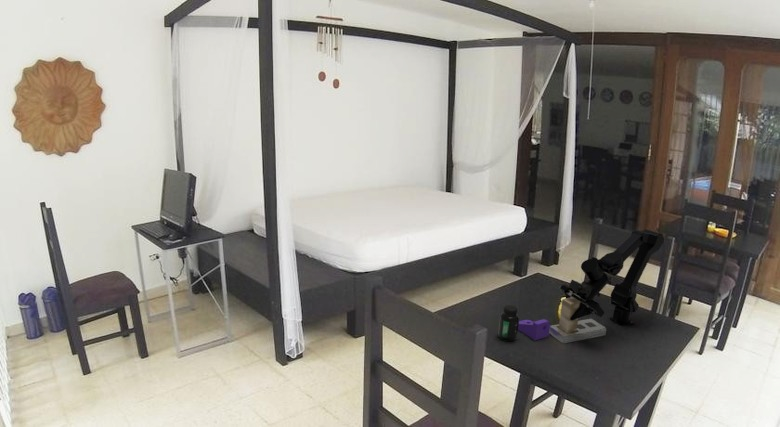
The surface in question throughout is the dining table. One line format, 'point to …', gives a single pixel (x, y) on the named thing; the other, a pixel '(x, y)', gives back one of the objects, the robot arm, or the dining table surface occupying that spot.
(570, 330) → the peg
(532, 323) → the bracket
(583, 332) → the grey flat block
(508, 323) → the supplement bottle
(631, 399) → the dining table surface
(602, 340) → the dining table surface
